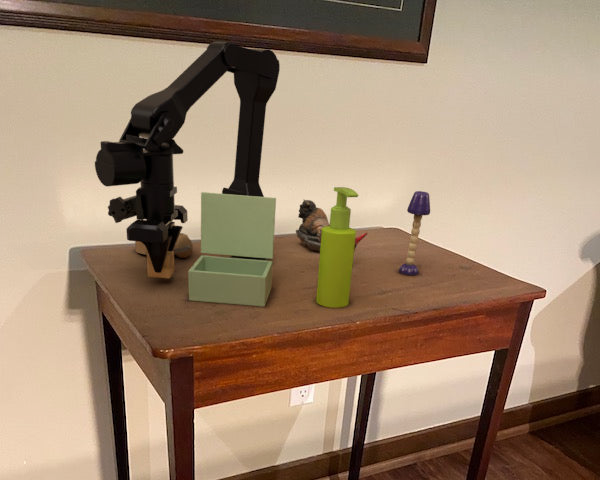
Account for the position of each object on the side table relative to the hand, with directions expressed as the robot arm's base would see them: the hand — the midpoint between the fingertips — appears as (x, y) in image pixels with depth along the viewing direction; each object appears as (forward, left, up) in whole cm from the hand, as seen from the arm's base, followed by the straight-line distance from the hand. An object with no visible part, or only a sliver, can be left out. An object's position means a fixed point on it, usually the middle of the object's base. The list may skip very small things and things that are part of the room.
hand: (161, 269), depth 115 cm
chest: (-8, +12, -2) cm, 15 cm away
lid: (-12, +8, +9) cm, 17 cm away
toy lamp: (-49, +16, -3) cm, 52 cm away
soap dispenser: (-22, +24, -3) cm, 33 cm away
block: (0, 0, -1) cm, 1 cm away
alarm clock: (-8, -17, -3) cm, 19 cm away
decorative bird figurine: (-38, +7, -3) cm, 39 cm away
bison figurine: (-42, -9, -3) cm, 43 cm away
